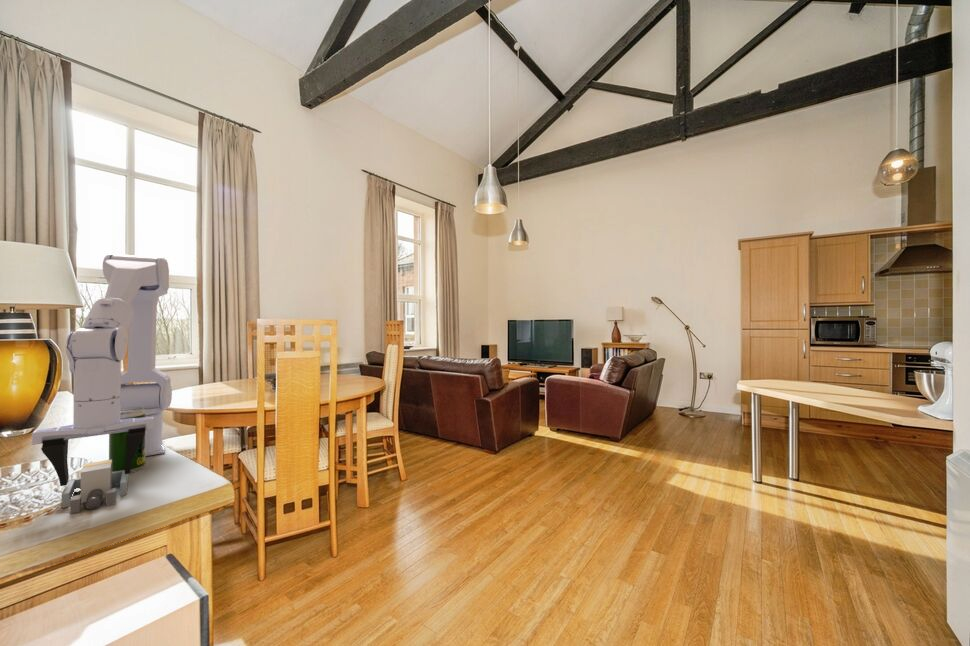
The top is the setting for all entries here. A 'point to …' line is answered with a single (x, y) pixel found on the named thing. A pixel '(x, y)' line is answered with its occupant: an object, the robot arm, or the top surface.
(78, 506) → the grey holder frame
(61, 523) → the top surface
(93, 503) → the connector
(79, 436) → the robot arm
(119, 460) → the beer can
